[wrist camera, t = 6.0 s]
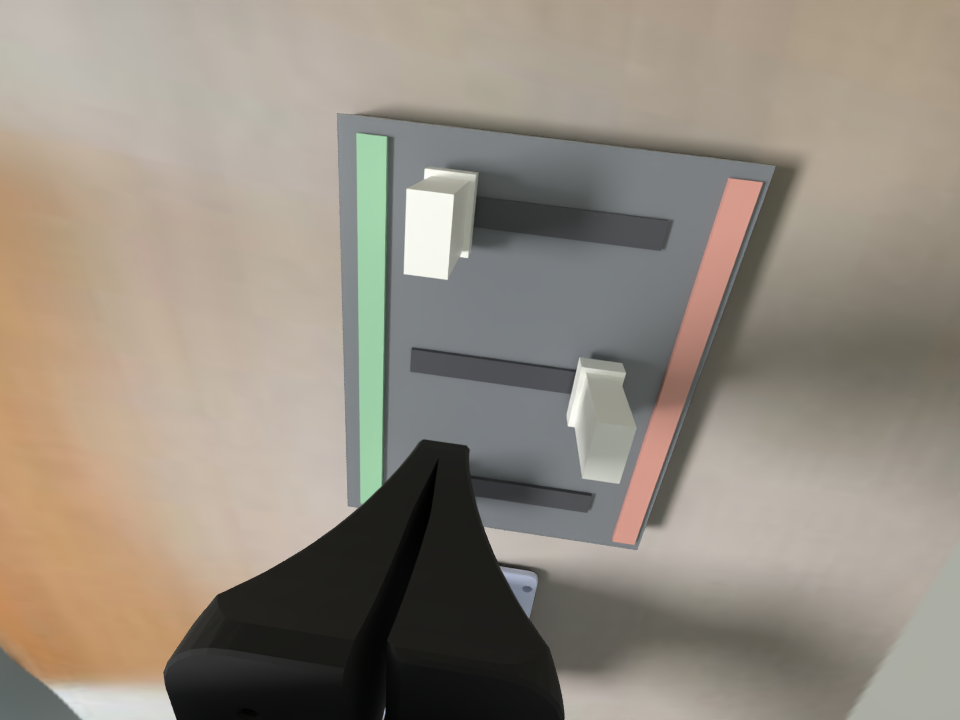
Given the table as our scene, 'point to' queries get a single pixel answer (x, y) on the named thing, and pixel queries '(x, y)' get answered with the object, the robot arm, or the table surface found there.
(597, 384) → the breaker
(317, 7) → the table surface
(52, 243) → the table surface
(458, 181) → the block
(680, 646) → the table surface
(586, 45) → the table surface
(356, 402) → the breaker panel
